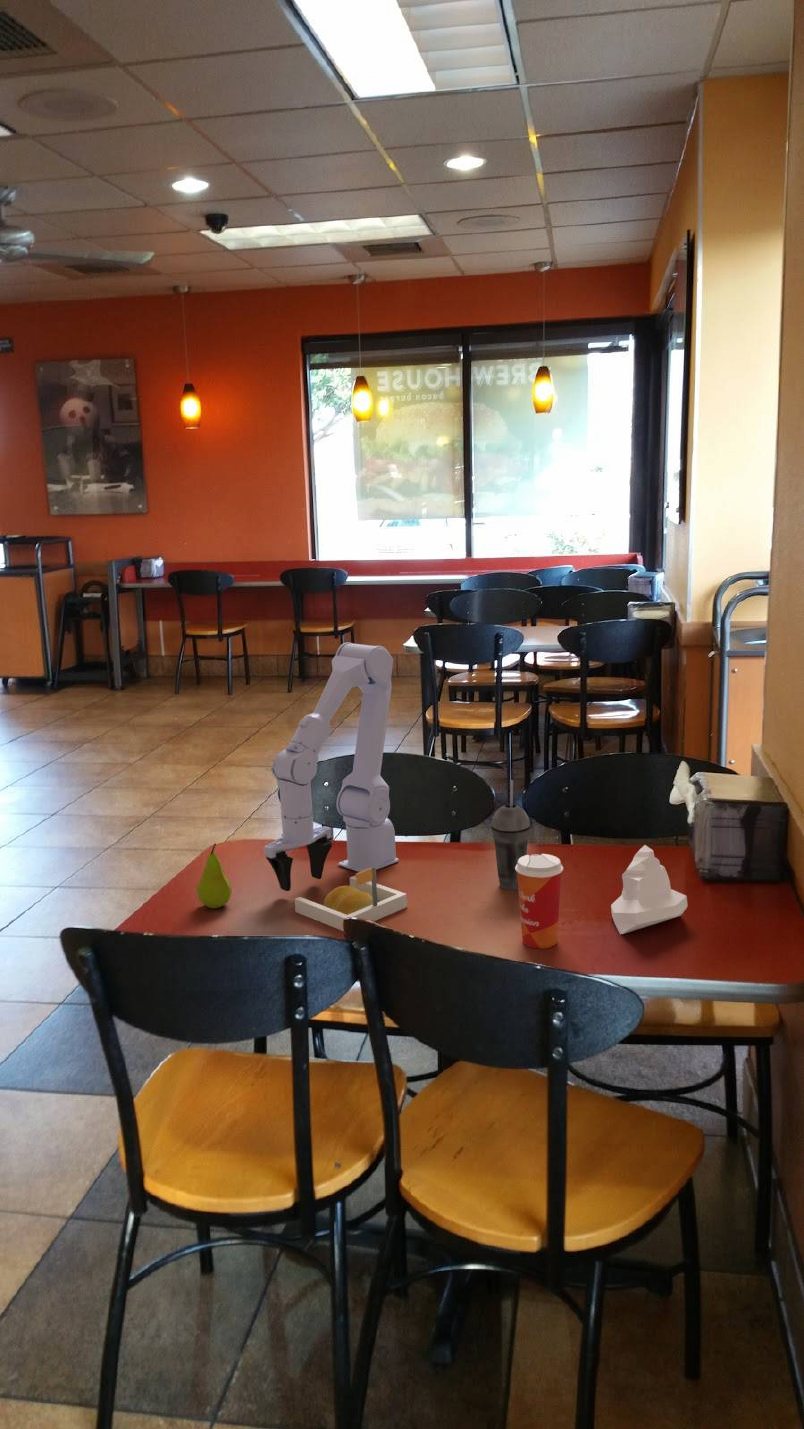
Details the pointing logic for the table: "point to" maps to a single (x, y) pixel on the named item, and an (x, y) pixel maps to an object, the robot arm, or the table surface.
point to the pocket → (387, 905)
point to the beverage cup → (510, 841)
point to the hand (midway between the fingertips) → (301, 883)
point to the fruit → (213, 884)
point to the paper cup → (539, 899)
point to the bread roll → (347, 899)
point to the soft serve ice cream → (646, 895)
